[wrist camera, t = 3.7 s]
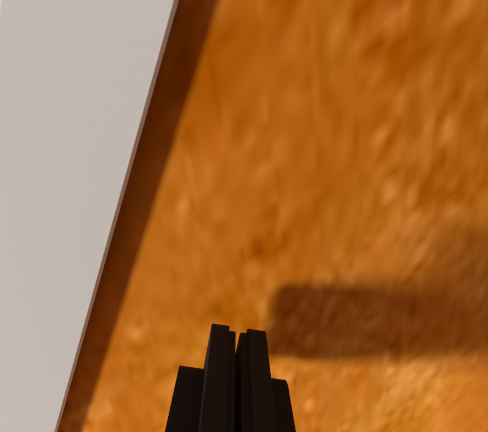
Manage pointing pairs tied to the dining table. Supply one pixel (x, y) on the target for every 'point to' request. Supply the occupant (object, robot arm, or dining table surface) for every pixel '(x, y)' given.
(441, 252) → the dining table surface
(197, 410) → the robot arm
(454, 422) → the dining table surface
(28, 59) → the baseboard molding
